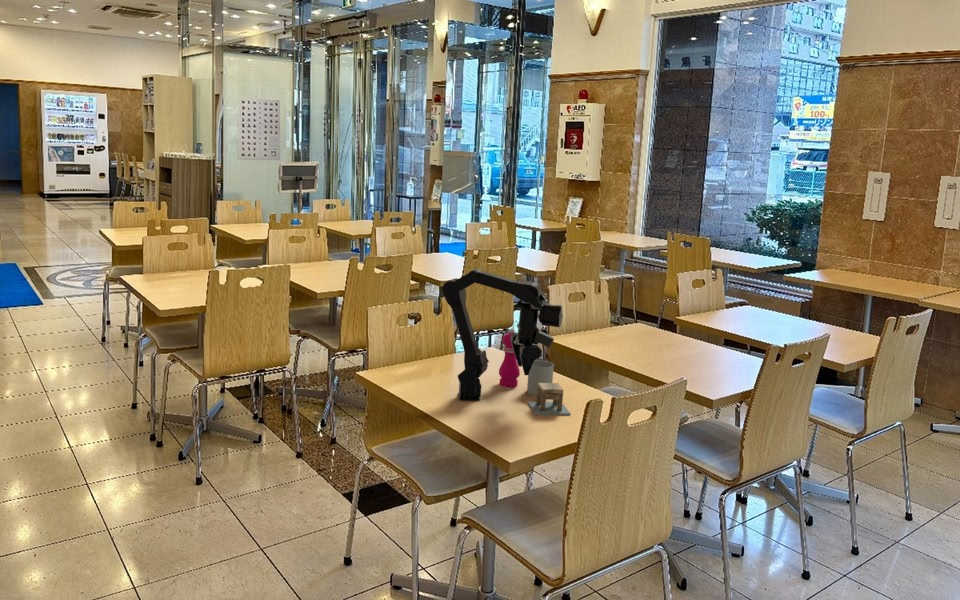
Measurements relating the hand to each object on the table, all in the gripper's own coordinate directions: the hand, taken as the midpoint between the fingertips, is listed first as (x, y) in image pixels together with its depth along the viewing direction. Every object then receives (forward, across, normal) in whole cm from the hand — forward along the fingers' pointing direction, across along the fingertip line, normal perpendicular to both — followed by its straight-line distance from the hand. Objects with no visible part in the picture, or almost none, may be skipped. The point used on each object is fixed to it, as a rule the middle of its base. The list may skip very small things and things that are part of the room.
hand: (523, 370), depth 245 cm
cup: (+12, +13, -10) cm, 20 cm away
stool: (+11, -4, -9) cm, 14 cm away
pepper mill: (+12, +21, -1) cm, 24 cm away
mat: (+11, -4, -9) cm, 15 cm away
